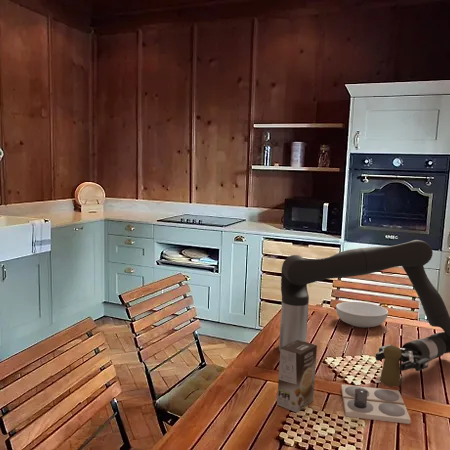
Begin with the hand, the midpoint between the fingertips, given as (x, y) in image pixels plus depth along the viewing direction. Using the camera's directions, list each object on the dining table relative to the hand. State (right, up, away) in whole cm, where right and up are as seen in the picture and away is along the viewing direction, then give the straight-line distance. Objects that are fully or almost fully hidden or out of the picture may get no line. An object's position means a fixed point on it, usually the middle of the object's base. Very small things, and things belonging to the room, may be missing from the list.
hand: (388, 362), depth 142 cm
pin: (-13, -7, -16) cm, 22 cm away
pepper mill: (+1, -7, +2) cm, 7 cm away
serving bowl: (+7, 0, +55) cm, 56 cm away
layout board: (-9, -8, -13) cm, 17 cm away
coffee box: (-30, -8, -13) cm, 34 cm away
